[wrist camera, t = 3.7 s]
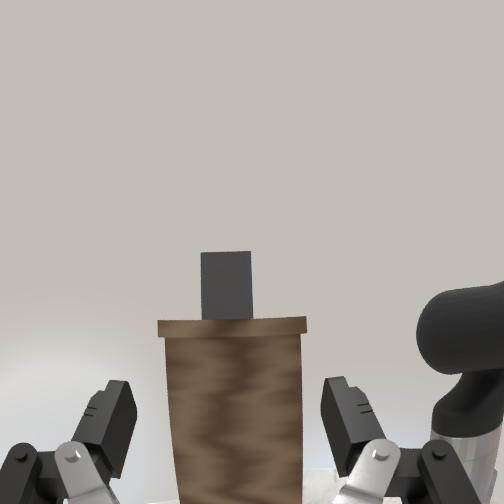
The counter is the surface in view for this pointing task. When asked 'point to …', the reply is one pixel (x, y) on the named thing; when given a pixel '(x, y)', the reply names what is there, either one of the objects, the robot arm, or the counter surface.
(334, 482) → the counter surface
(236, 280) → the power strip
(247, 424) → the wooden lidded box
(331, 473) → the counter surface
